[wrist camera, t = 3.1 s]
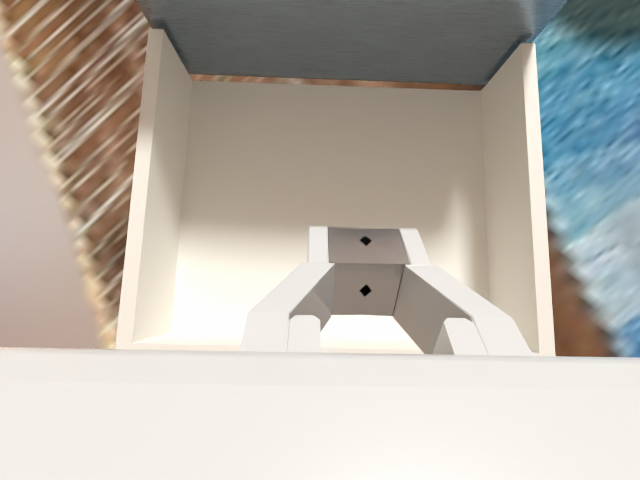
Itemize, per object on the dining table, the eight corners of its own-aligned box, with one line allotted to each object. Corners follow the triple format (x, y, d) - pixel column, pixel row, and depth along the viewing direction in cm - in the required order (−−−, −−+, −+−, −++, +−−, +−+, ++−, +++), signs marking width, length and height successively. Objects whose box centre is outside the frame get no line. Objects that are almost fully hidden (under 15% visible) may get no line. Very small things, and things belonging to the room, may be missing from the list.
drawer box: (488, 348, 25) (556, 370, 18) (169, 340, 25) (113, 359, 18) (479, 105, 28) (535, 43, 21) (190, 95, 27) (148, 28, 20)
